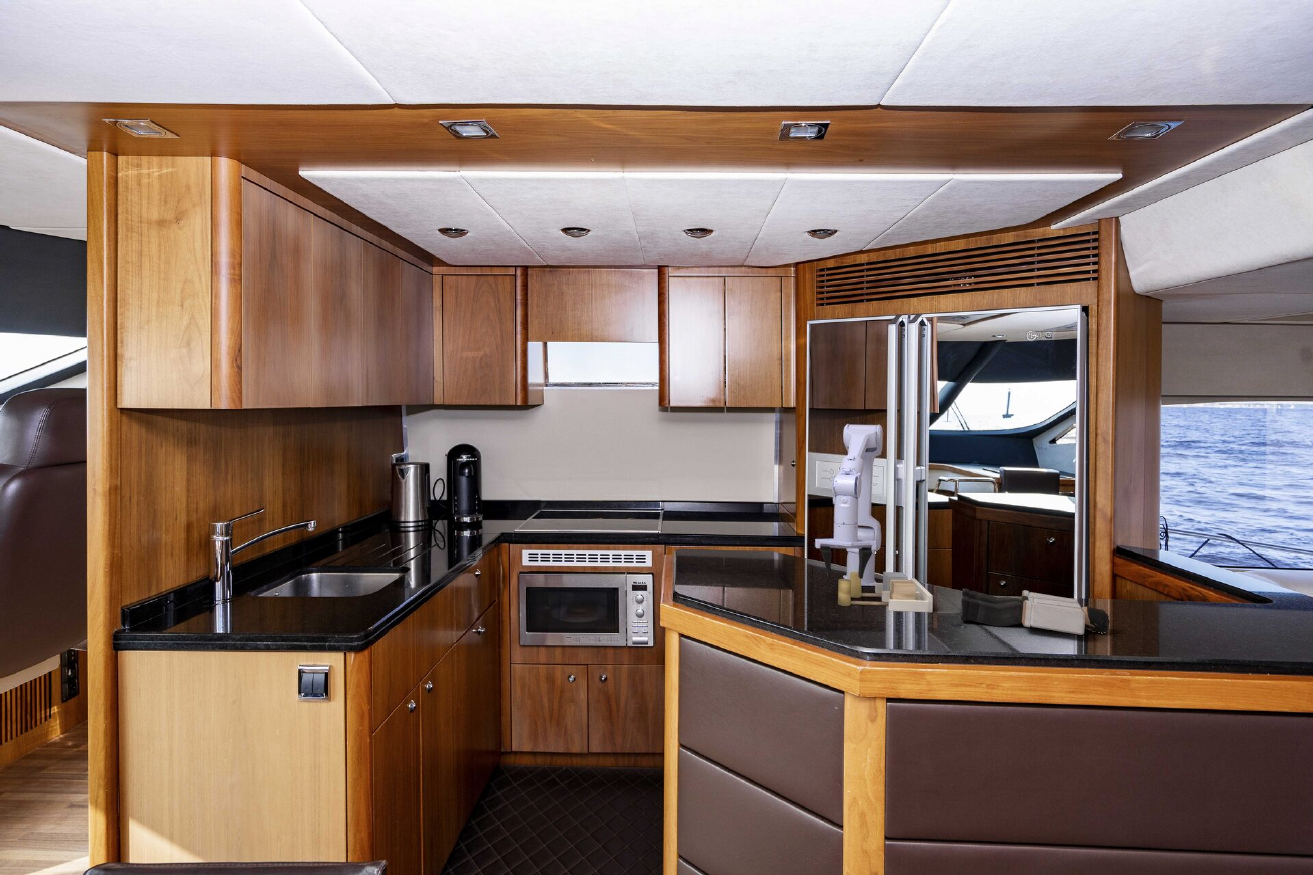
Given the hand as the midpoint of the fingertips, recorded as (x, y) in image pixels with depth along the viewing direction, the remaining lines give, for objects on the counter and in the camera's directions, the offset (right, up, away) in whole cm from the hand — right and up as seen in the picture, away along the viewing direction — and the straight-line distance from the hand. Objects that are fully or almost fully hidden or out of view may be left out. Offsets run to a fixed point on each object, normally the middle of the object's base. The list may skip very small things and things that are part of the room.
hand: (844, 577), depth 180 cm
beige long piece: (+7, -7, 0) cm, 10 cm away
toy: (+39, -8, -15) cm, 42 cm away
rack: (+15, -7, +3) cm, 17 cm away
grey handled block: (+10, -6, +7) cm, 14 cm away
